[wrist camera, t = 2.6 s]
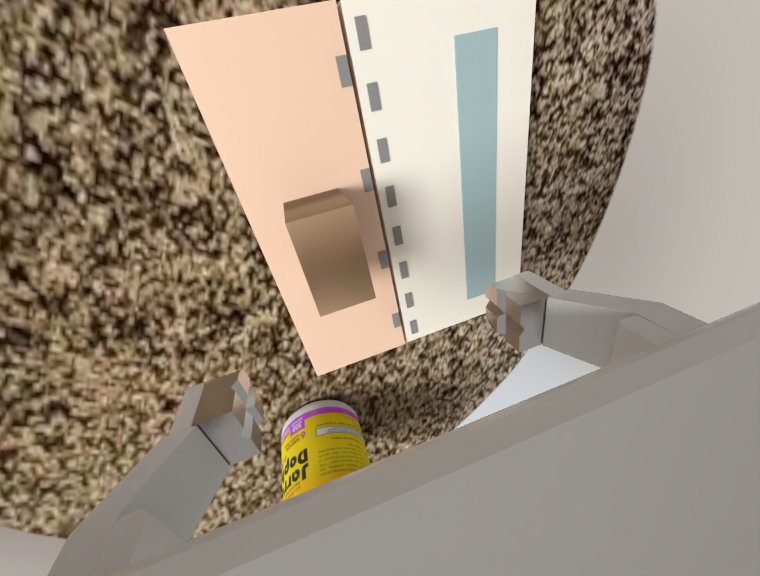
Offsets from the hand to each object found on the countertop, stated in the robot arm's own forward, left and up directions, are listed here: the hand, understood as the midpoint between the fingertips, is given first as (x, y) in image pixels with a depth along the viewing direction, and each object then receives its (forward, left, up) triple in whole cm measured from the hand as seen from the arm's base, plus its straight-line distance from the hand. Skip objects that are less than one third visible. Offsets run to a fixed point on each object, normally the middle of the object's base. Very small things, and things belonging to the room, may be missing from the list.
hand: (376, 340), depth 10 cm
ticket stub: (0, 0, -11) cm, 11 cm away
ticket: (0, +8, -11) cm, 14 cm away
